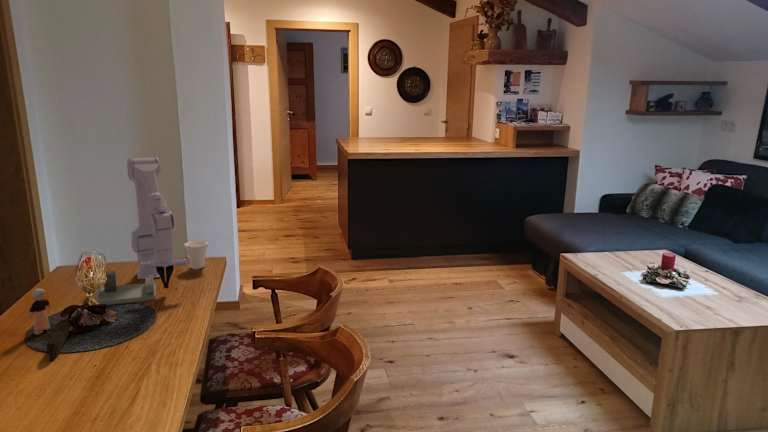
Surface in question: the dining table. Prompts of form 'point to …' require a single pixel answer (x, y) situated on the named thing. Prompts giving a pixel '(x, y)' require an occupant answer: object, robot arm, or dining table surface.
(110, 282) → the dark steel block
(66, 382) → the dining table surface
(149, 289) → the sliding jaw
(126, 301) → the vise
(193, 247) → the cup
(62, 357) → the dining table surface
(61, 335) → the hand tool
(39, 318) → the grandmother figurine
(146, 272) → the robot arm
